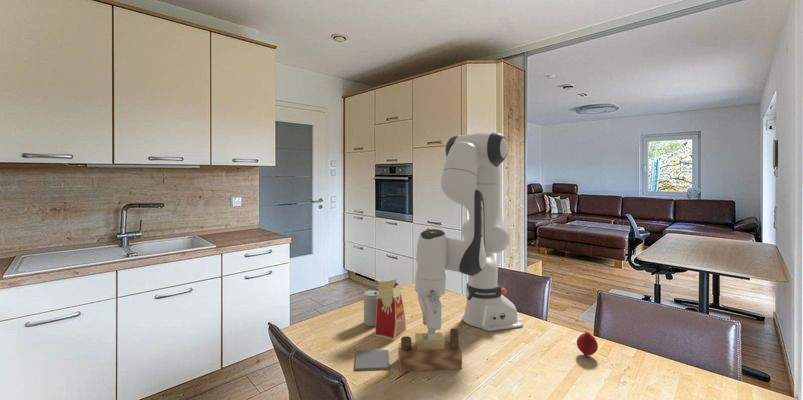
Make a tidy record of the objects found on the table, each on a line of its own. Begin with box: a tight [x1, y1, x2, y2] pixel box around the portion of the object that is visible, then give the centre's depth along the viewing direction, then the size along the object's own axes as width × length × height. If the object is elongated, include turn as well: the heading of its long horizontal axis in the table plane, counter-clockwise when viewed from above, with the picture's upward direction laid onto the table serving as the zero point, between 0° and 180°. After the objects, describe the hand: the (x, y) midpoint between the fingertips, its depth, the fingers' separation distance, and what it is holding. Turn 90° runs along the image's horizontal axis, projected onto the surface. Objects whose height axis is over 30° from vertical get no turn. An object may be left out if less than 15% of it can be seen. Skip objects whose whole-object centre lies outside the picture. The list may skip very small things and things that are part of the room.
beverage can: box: [363, 290, 378, 328], centre depth 134 cm, size 6×6×12 cm
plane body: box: [398, 328, 463, 372], centre depth 106 cm, size 18×7×10 cm, turn 95°
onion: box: [576, 330, 599, 357], centre depth 111 cm, size 6×6×8 cm
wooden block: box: [414, 332, 445, 352], centre depth 106 cm, size 8×4×4 cm, turn 95°
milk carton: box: [374, 278, 407, 342], centre depth 126 cm, size 9×9×20 cm
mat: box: [354, 349, 391, 371], centre depth 108 cm, size 10×10×1 cm
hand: (428, 331), depth 106 cm, fingers open, 8 cm apart
